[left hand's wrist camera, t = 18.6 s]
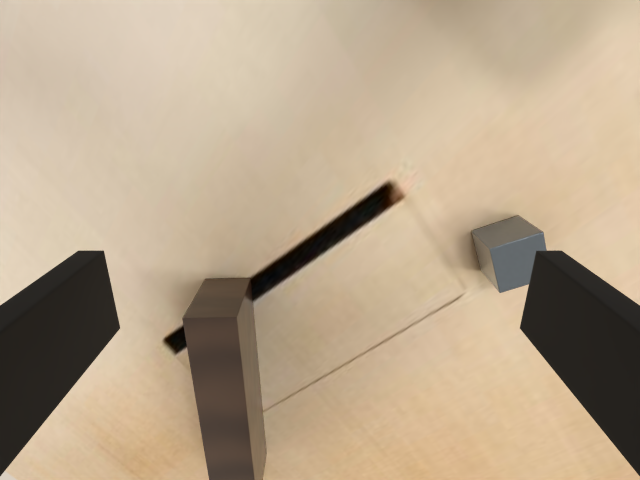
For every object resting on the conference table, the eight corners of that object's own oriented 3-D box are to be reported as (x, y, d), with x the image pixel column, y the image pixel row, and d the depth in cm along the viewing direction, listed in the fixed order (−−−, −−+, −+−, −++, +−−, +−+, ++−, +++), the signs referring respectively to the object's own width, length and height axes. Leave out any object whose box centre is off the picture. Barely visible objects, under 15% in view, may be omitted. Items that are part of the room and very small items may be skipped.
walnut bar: (205, 278, 44) (182, 318, 37) (250, 277, 44) (236, 317, 37) (229, 453, 54) (214, 513, 46) (266, 453, 54) (258, 512, 46)
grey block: (470, 230, 42) (489, 248, 38) (518, 214, 42) (543, 231, 37) (480, 271, 44) (499, 293, 39) (526, 256, 44) (551, 277, 39)
